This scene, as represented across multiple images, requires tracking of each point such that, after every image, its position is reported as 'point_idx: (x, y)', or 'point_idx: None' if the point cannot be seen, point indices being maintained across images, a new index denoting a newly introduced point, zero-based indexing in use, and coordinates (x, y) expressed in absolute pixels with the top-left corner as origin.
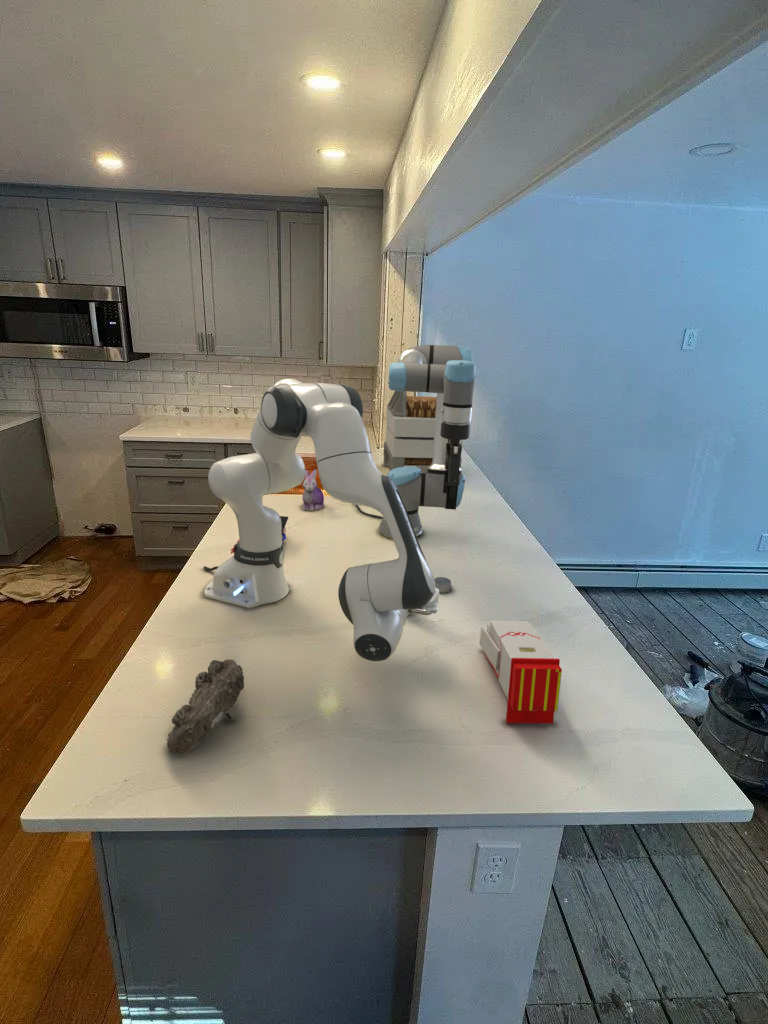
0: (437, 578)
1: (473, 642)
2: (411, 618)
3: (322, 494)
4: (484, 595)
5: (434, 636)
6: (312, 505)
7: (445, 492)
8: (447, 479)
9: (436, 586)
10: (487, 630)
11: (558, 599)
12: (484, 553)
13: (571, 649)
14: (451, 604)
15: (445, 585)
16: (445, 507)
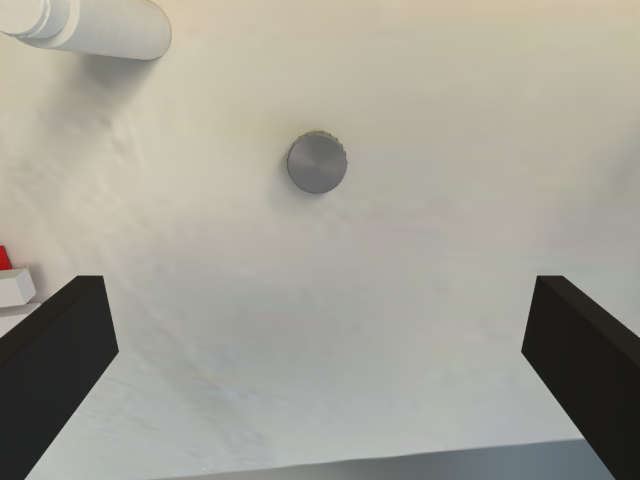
0: (334, 149)
1: (38, 227)
2: (106, 57)
3: None
4: (293, 277)
5: (29, 127)
6: None
7: (536, 298)
8: (622, 397)
9: (295, 143)
10: (15, 271)
11: (300, 433)
12: None
13: (85, 415)
14: (221, 184)
15: (289, 173)
16: (84, 280)
